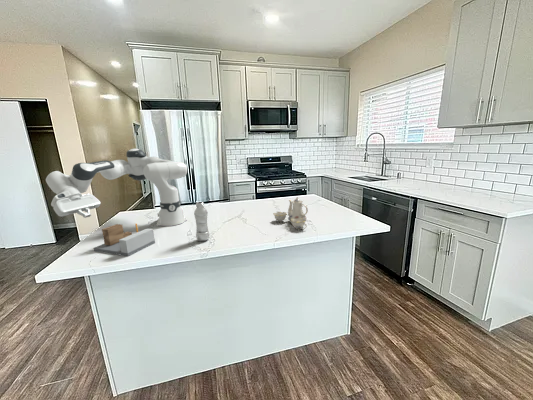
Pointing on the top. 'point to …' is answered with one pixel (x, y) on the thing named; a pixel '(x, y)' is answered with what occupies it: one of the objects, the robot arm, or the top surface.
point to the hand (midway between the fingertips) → (88, 216)
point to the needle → (136, 228)
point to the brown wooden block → (114, 234)
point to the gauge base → (117, 249)
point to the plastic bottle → (201, 222)
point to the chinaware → (294, 214)
